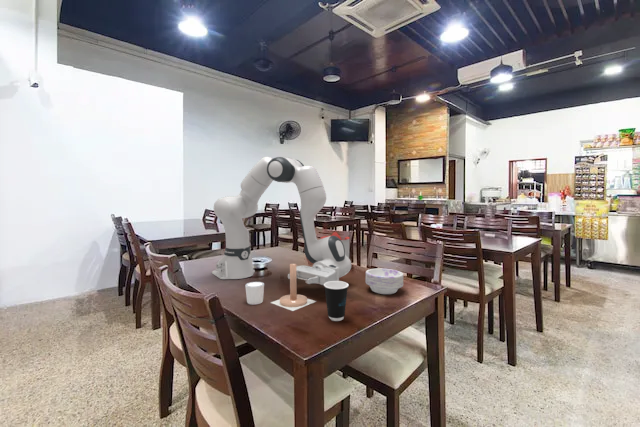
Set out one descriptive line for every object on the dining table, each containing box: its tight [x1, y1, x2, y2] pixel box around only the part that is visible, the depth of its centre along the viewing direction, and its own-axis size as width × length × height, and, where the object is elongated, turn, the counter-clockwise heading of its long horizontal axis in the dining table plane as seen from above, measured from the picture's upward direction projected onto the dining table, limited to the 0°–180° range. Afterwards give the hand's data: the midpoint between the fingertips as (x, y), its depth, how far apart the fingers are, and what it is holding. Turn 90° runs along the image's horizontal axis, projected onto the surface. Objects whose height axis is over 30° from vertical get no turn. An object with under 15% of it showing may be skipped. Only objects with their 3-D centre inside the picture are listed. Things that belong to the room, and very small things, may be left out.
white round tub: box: [244, 281, 265, 306], centre depth 109 cm, size 7×7×7 cm
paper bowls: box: [365, 267, 404, 295], centre depth 122 cm, size 15×15×8 cm
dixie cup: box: [323, 280, 350, 322], centre depth 95 cm, size 8×8×11 cm
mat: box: [270, 298, 317, 312], centre depth 109 cm, size 12×12×1 cm
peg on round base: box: [279, 263, 308, 307], centre depth 109 cm, size 10×10×14 cm
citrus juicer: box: [320, 231, 350, 259], centre depth 159 cm, size 16×17×20 cm
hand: (297, 279), depth 110 cm, fingers open, 8 cm apart
